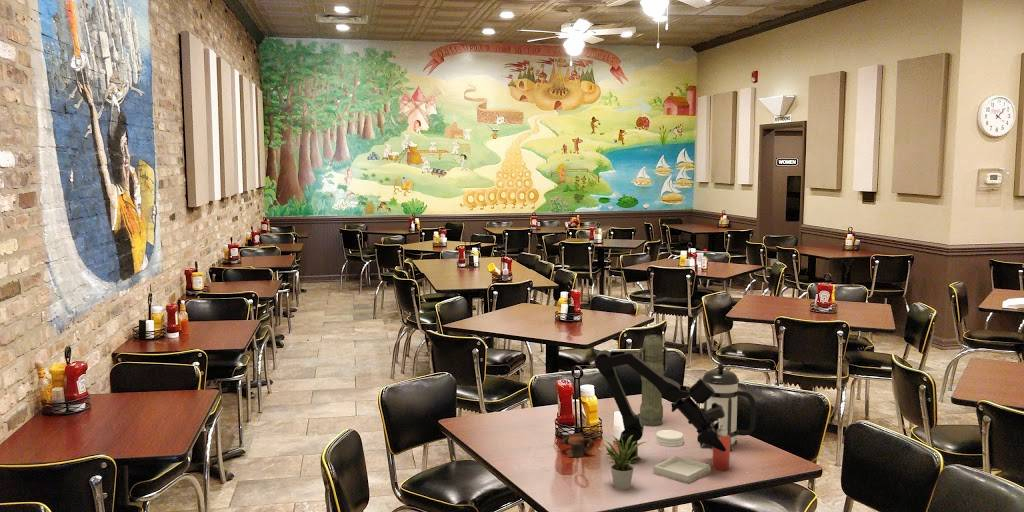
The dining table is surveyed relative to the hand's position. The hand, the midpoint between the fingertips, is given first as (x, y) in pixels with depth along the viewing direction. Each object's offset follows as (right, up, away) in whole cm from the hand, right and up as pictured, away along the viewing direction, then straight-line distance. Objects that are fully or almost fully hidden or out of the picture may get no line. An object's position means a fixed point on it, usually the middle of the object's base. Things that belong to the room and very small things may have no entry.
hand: (725, 447), depth 280 cm
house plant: (-35, -9, -15) cm, 39 cm away
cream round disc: (-14, -5, +27) cm, 31 cm away
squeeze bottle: (-1, -7, +1) cm, 7 cm away
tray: (-15, -7, -4) cm, 17 cm away
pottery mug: (-48, -6, +15) cm, 51 cm away
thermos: (-17, -2, +51) cm, 53 cm away
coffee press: (+5, -5, +24) cm, 25 cm away
